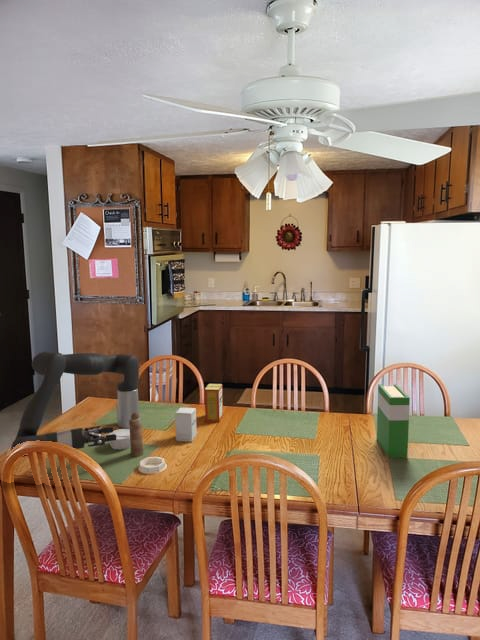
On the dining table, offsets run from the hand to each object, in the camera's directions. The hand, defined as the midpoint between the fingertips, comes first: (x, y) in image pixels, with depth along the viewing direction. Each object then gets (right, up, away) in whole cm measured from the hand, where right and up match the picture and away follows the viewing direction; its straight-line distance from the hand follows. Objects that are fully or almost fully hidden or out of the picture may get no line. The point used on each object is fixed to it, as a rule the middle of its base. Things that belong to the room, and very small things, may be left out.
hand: (114, 433), depth 192 cm
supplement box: (+25, -8, +22) cm, 35 cm away
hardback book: (+110, -8, +9) cm, 110 cm away
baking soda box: (+36, -4, +46) cm, 59 cm away
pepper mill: (+8, -10, +5) cm, 14 cm away
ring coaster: (+16, -12, -7) cm, 21 cm away
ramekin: (-1, -9, +16) cm, 18 cm away
